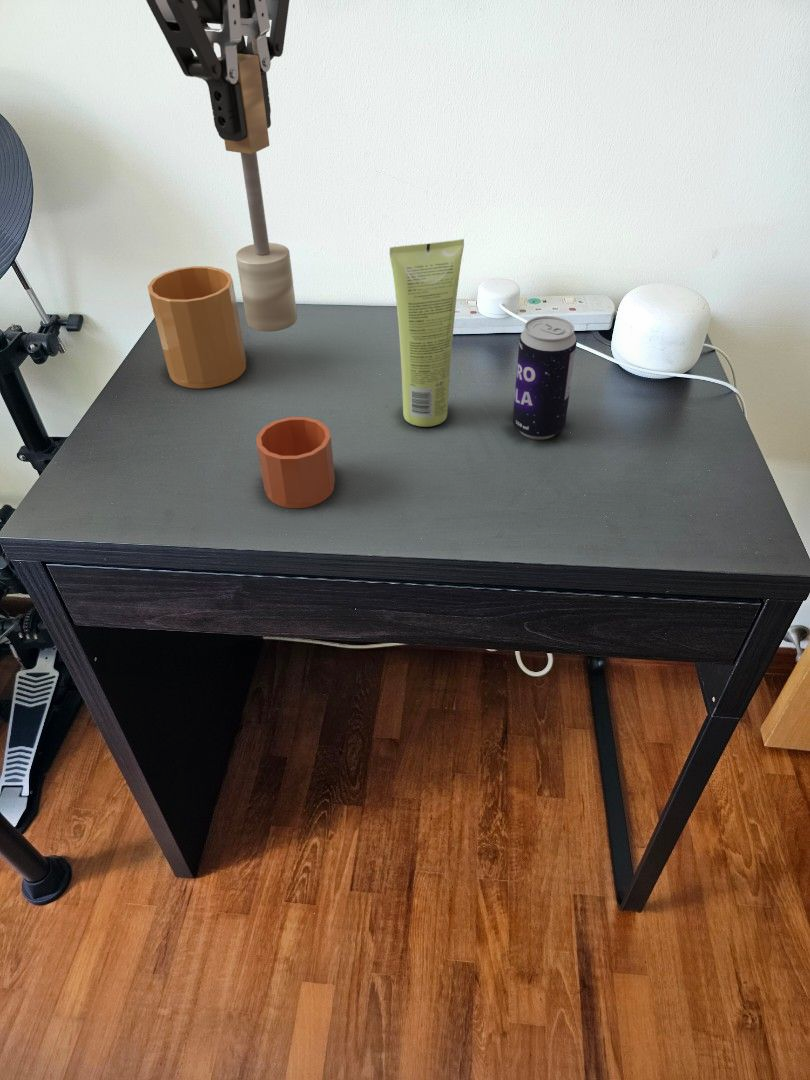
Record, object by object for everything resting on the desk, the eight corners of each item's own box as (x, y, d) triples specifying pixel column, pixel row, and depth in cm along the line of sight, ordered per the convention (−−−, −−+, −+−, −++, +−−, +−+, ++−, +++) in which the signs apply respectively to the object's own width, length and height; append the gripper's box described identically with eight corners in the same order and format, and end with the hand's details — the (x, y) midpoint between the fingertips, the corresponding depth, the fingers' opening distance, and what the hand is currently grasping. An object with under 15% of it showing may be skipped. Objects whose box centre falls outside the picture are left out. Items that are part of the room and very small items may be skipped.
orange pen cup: (215, 395, 93) (197, 307, 85) (152, 378, 96) (130, 291, 88) (261, 359, 99) (248, 274, 91) (201, 344, 102) (183, 260, 95)
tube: (420, 397, 91) (420, 227, 78) (458, 409, 89) (464, 237, 76) (394, 421, 88) (388, 247, 75) (433, 434, 86) (434, 257, 73)
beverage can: (528, 408, 89) (538, 309, 81) (573, 424, 87) (588, 323, 79) (502, 432, 86) (510, 330, 78) (548, 449, 83) (561, 346, 75)
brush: (278, 336, 67) (242, 66, 54) (236, 325, 69) (190, 61, 55) (306, 314, 70) (278, 53, 56) (265, 305, 71) (228, 48, 58)
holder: (311, 516, 76) (305, 466, 72) (250, 496, 78) (241, 446, 74) (348, 476, 80) (344, 427, 76) (289, 458, 83) (282, 410, 79)
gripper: (221, -178, 53) (258, 106, 65) (70, -177, 44) (144, 153, 56) (315, -181, 51) (336, 116, 62) (175, -180, 42) (230, 167, 53)
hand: (245, 132), depth 59 cm, fingers closed on brush, 2 cm apart
